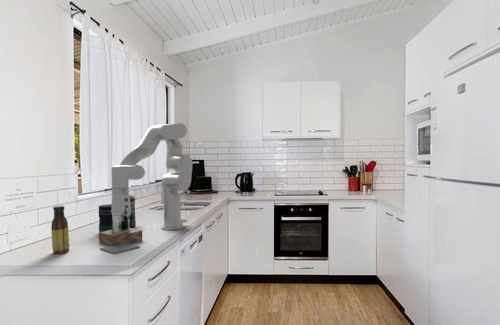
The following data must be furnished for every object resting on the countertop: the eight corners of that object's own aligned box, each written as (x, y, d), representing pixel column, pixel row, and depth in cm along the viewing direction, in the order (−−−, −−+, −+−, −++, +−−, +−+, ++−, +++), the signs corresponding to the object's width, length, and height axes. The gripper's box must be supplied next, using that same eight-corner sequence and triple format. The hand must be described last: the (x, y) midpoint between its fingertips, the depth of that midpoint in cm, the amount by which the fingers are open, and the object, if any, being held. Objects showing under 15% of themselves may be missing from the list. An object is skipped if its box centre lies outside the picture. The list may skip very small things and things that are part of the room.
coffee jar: (124, 225, 194) (123, 194, 194) (137, 225, 194) (136, 194, 194) (117, 228, 185) (117, 196, 184) (131, 228, 184) (130, 196, 184)
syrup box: (123, 239, 158) (123, 210, 158) (129, 241, 154) (129, 211, 154) (112, 242, 153) (111, 211, 153) (118, 244, 150) (118, 213, 150)
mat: (125, 243, 150) (125, 242, 150) (140, 247, 143) (140, 246, 143) (100, 249, 140) (100, 248, 140) (114, 254, 133) (114, 252, 133)
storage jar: (122, 231, 178) (121, 204, 178) (112, 235, 168) (112, 206, 168) (105, 230, 179) (104, 204, 179) (94, 235, 169) (94, 206, 169)
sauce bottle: (65, 249, 141) (65, 204, 141) (71, 251, 137) (71, 205, 137) (49, 252, 136) (48, 206, 136) (55, 255, 132) (54, 207, 132)
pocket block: (126, 237, 163) (126, 227, 163) (142, 240, 155) (142, 230, 155) (99, 242, 152) (99, 232, 152) (115, 247, 144) (115, 236, 144)
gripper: (137, 191, 151) (138, 229, 151) (117, 189, 162) (118, 225, 162) (123, 192, 145) (123, 232, 145) (103, 191, 156) (104, 227, 156)
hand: (120, 228), depth 154 cm, fingers closed on syrup box, 5 cm apart
